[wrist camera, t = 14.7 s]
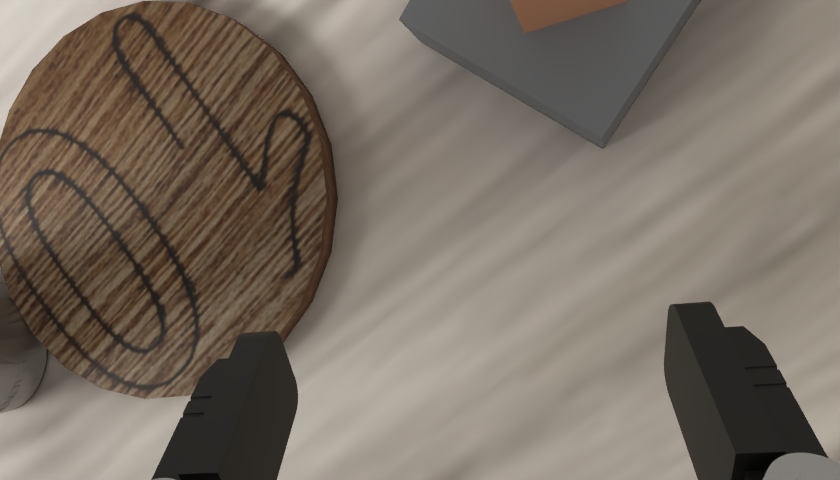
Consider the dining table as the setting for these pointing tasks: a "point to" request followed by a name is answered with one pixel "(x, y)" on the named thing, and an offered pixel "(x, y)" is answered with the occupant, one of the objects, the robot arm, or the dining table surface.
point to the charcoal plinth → (557, 54)
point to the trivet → (162, 196)
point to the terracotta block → (555, 11)
